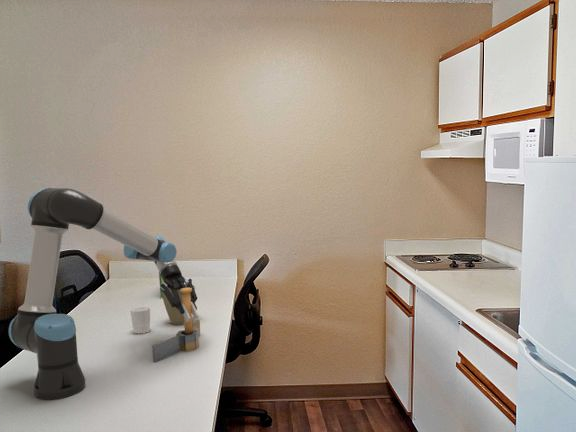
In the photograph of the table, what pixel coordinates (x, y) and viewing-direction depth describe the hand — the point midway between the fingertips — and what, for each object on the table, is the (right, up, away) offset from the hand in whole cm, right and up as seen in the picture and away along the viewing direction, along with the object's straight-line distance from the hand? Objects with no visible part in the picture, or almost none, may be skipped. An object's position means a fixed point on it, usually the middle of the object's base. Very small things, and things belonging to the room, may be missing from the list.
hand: (192, 318), depth 203 cm
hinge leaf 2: (-2, -11, +10) cm, 15 cm away
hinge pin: (-2, -6, +4) cm, 7 cm away
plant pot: (-12, -9, +38) cm, 41 cm away
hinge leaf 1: (-6, -12, -2) cm, 14 cm away
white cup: (-26, -11, +27) cm, 39 cm away
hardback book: (-30, -5, +93) cm, 98 cm away
